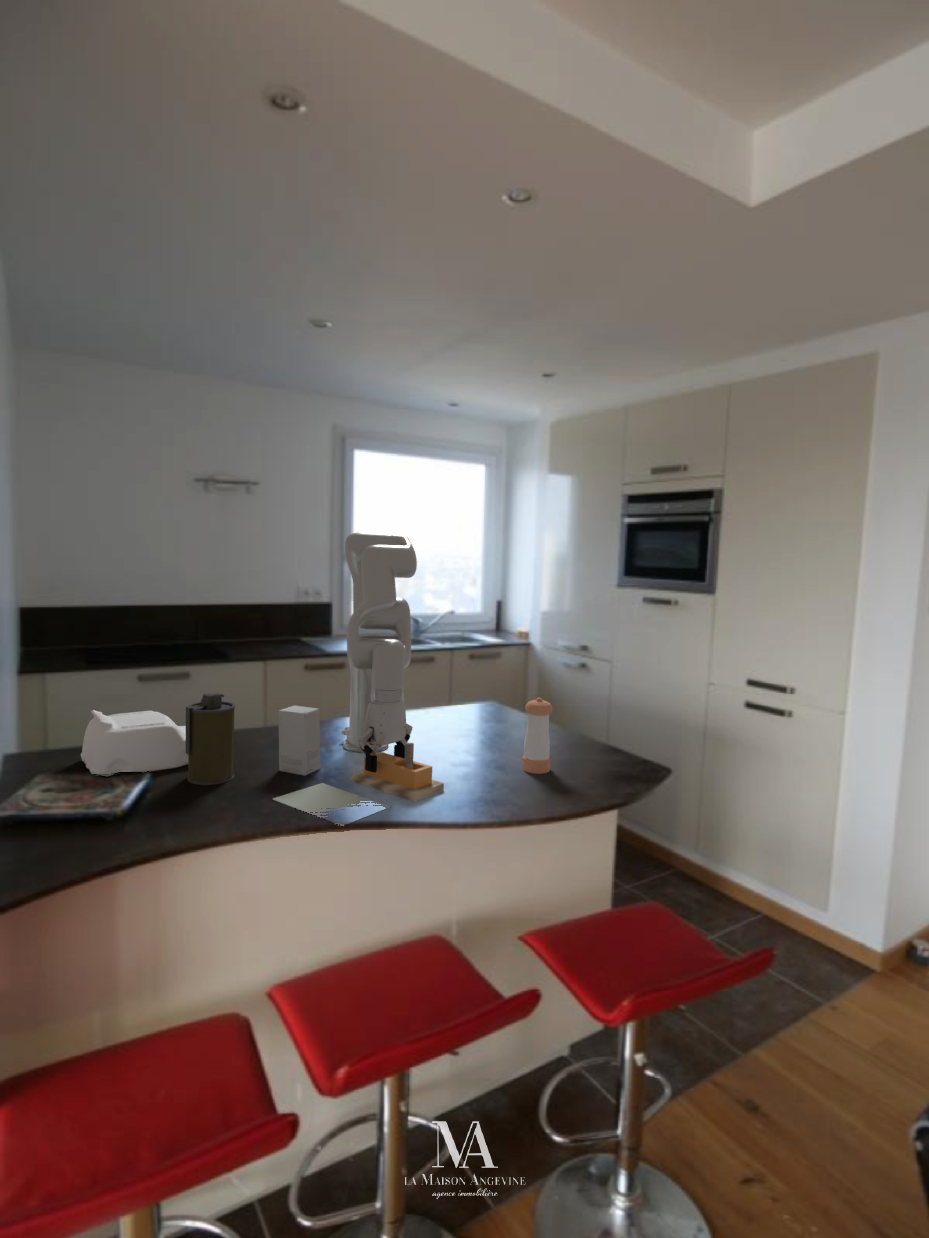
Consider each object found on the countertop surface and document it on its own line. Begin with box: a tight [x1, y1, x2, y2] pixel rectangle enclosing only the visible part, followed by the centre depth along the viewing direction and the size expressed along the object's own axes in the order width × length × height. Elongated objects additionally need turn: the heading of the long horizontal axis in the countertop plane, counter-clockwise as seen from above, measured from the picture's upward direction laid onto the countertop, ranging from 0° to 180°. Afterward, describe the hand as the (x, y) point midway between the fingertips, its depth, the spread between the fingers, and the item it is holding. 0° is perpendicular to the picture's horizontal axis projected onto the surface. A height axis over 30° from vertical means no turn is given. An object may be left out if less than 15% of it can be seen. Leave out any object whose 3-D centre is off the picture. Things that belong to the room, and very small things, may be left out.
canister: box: [185, 692, 236, 786], centre depth 156 cm, size 11×10×20 cm
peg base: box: [351, 742, 445, 803], centre depth 156 cm, size 20×10×11 cm, turn 53°
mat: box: [272, 782, 391, 827], centre depth 144 cm, size 22×14×1 cm, turn 53°
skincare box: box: [278, 705, 321, 777], centre depth 165 cm, size 8×7×16 cm
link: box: [363, 751, 433, 790], centre depth 156 cm, size 16×6×4 cm, turn 53°
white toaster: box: [80, 709, 188, 775], centre depth 167 cm, size 19×30×13 cm, turn 128°
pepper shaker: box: [521, 697, 554, 775], centre depth 173 cm, size 7×7×19 cm
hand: (385, 766), depth 158 cm, fingers open, 9 cm apart
